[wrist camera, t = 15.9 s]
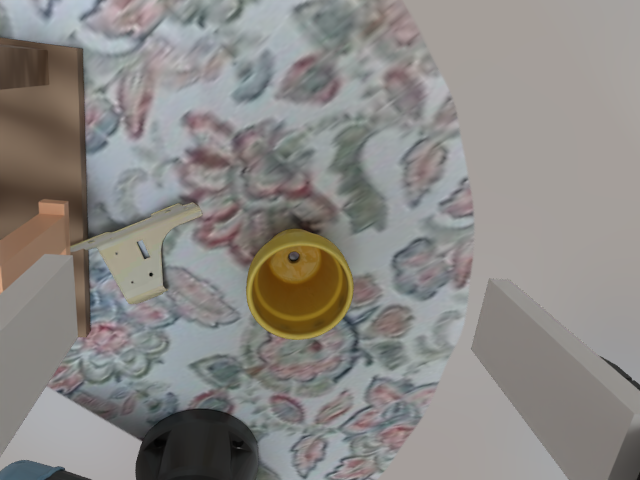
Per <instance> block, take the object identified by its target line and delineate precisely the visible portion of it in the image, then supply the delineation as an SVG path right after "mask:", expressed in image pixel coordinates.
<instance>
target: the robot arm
mask: <svg viewBox="0 0 640 480" xmlns="http://www.w3.org/2000/svg"><path fill="white" fill-rule="evenodd" d="M77 338H78V329H77V313H76V297H75V282H74V266H73V255H55V254H44V255H43V256H42V257H41V258H40V259H39V260H38V261H36V262H35V263H34V264H33V265H32V266H31V267H30V268H29V269H28V270H26V271H25V272H24V273H23V274H22V275H21V276H20V277H19V278H18V279H17V280H15V281H14V282H13V283H12V284H11V285H10V286H9V287H8V288H7V289H5V290H4V291H3V292H2V293H1V294H0V456H1V455H2V453H3V452H4V450H5V449H6V447H7V446H8V444H9V443H10V441H11V440H12V438H13V436H14V435H15V433H16V431H17V430H18V429H19V427H20V426H21V424H22V423H23V421H24V420H25V418H26V416H27V415H28V413H29V412H30V410H31V409H32V407H33V406H34V404H35V403H36V401H37V399H38V398H39V396H40V395H41V393H42V392H43V390H44V389H45V387H46V386H47V384H48V383H49V381H50V379H51V378H52V376H53V375H54V373H55V372H56V370H57V369H58V367H59V366H60V364H61V363H62V361H63V359H64V358H65V356H66V355H67V353H68V352H69V350H70V349H71V347H72V346H73V344H74V342H75V341H76V339H77ZM471 350H472V351H473V352H474V354H475V355H476V356H477V358H478V359H479V360H480V362H481V363H482V364H483V366H484V367H485V368H486V370H487V371H488V372H489V374H490V375H491V376H492V378H493V379H494V380H495V382H496V383H497V384H498V386H499V387H500V388H501V390H502V391H503V392H504V394H505V395H506V396H507V398H508V399H509V400H510V402H511V403H512V404H513V406H514V407H515V408H516V410H517V411H518V412H519V414H520V415H521V416H522V418H523V419H524V420H525V422H526V423H527V424H528V426H529V427H530V428H531V430H532V431H533V432H534V434H535V435H536V436H537V438H538V439H539V440H540V442H541V443H542V444H543V446H544V447H545V448H546V450H547V451H548V452H549V454H550V455H551V456H552V458H553V459H554V460H555V462H556V463H557V464H558V466H559V467H560V468H561V470H562V471H563V472H564V474H565V475H566V476H567V478H568V479H569V480H640V385H639V384H638V383H637V382H636V381H632V378H631V377H630V376H629V375H628V374H626V373H625V372H624V371H623V370H622V369H620V368H619V367H618V366H617V365H615V364H613V363H611V362H610V361H608V360H606V359H604V358H603V357H601V356H599V355H597V354H596V353H595V352H594V351H593V350H591V349H590V348H589V347H588V346H587V345H586V344H584V343H583V342H582V341H581V340H580V339H579V338H577V337H576V336H575V335H574V334H573V333H572V332H570V331H569V330H568V329H567V328H566V327H564V326H563V325H562V324H561V323H560V322H559V321H558V320H556V319H555V318H554V317H553V316H552V315H551V314H549V313H548V312H547V311H546V310H545V309H543V308H542V307H541V306H540V305H539V304H538V303H537V302H535V301H534V300H533V299H532V298H531V297H530V296H528V295H527V294H526V293H525V292H524V291H523V290H521V289H520V288H519V287H518V286H517V285H515V284H514V283H513V282H512V281H511V280H503V279H489V281H488V285H487V289H486V293H485V296H484V301H483V304H482V308H481V312H480V316H479V320H478V324H477V328H476V332H475V336H474V340H473V344H472V347H471ZM257 471H258V447H257V443H256V440H255V438H254V436H253V434H252V433H251V431H250V430H249V429H248V428H247V427H246V426H245V425H244V424H243V423H242V422H240V421H239V420H237V419H236V418H234V417H232V416H230V415H227V414H225V413H222V412H218V411H213V410H189V411H184V412H180V413H177V414H174V415H171V416H169V417H167V418H165V419H163V420H162V421H160V422H159V423H158V424H156V425H155V426H154V427H153V428H152V429H151V430H150V431H149V432H148V433H147V435H146V436H145V438H144V440H143V442H142V444H141V447H140V450H139V454H138V457H137V461H136V480H255V479H256V476H257ZM0 480H91V479H88V478H85V477H82V476H79V475H76V474H73V473H70V472H67V471H65V468H63V467H59V466H58V467H51V466H47V465H44V464H40V463H37V462H33V461H29V460H21V461H17V462H14V463H11V464H10V465H8V466H7V467H5V468H4V469H2V470H1V471H0Z"/></svg>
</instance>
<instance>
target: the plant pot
mask: <svg viewBox="0 0 640 480" xmlns="http://www.w3.org/2000/svg"><path fill="white" fill-rule="evenodd" d="M291 252H297V253H298V254H299V258H298V260H296V261H290V260H289V257H288V256H289V254H290V253H291ZM246 296H247V303H248V306H249V309H250V311H251V313H252V315H253V317H254V318H255V320H256V321H257V322H258V323H259V324H260V325H261V326H262V327H263V328H264V329H265V330H267V331H268V332H270V333H272V334H274V335H276V336H279V337H282V338H286V339H292V340H302V339H309V338H313V337H317V336H319V335H322V334H324V333H326V332H327V331H329V330H331V329H332V328H333V327H335V326H336V325H337V324H338V323H339V322H340V321H341V320H342V318H343V317H344V316H345V314H346V313H347V311H348V309H349V307H350V304H351V301H352V297H353V278H352V274H351V271H350V268H349V266H348V264H347V262H346V260H345V258H344V256H343V255H342V253H341V252H340V250H339V249H338V248H337V247H336V246H335V245H334V244H333V243H332V242H331V241H329V240H328V239H326V238H324V237H322V236H320V235H317V234H313V233H310V232H308V231H306V230H302V229H288V230H285V231H282V232H280V233H278V234H277V235H276V236H274V237H273V238H272V240H271V241H269V242H268V243H267V244H265V245H264V246H263V247H262V248H261V249H260V250H259V251H258V253H257V254H256V255H255V257H254V259H253V260H252V263H251V265H250V268H249V272H248V277H247V286H246Z"/></svg>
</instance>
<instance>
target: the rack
mask: <svg viewBox="0 0 640 480" xmlns="http://www.w3.org/2000/svg"><path fill="white" fill-rule="evenodd" d="M43 199H49V200H60V201H68V206H69V231H70V246H73V245H75V244H78V243H80V242H83V241H85V240H88V223H87V187H86V152H85V116H84V81H83V49H80V48H72V47H65V46H58V45H51V44H43V43H36V42H29V41H22V40H14V39H7V38H0V240H1V239H3V238H4V237H6V236H7V235H9V234H10V233H12V232H13V231H14V230H16V229H17V228H19V227H20V226H22V225H23V224H25V223H26V222H28V221H29V220H30V219H32V218H33V217H35V216H36V215H38V214H39V203H38V202H39V201H41V200H43ZM70 255H73V266H74V282H75V297H76V313H77V329H78V337H87V335H88V334H89V332H90V294H89V259H88V250H85V249H84V248H83V249H80V250H78V251H75V252H70Z"/></svg>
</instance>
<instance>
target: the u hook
mask: <svg viewBox="0 0 640 480" xmlns="http://www.w3.org/2000/svg"><path fill="white" fill-rule="evenodd" d="M38 203H39V214H38V215H36V216H35V217H33V218H32V219H30V220H29V221H28V222H26V223H25V224H23V225H22V226H20V227H19V228H17V229H16V230H14V231H13V232H12V233H10V234H9V235H7V236H6V237H4V238H3V239H1V240H0V294H1V293H2V292H3V291H4V290H5V289H7V288H8V287H9V286H10V285H11V284H12V283H13V282H14V281H15V280H17V279H18V278H19V277H20V276H21V275H22V274H23V273H24V272H25V271H26V270H28V269H29V268H30V267H31V266H32V265H33V264H34V263H35V262H36V261H38V260H39V259H40V258H41V257H42V256H43V255H44V254H55V255H70V231H69V206H68V201H60V200H49V199H43V200H41V201H39V202H38Z"/></svg>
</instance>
